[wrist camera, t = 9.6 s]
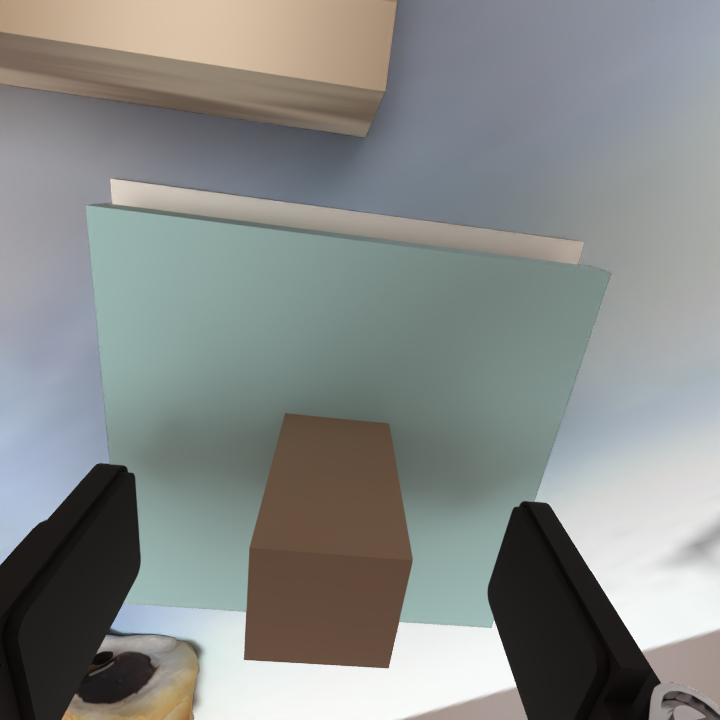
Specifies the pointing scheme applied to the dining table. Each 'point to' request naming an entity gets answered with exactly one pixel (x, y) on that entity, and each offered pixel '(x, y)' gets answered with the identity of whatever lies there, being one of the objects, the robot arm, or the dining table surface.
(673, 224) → the dining table surface
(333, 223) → the mat
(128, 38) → the box
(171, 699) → the pastry
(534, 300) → the lid
